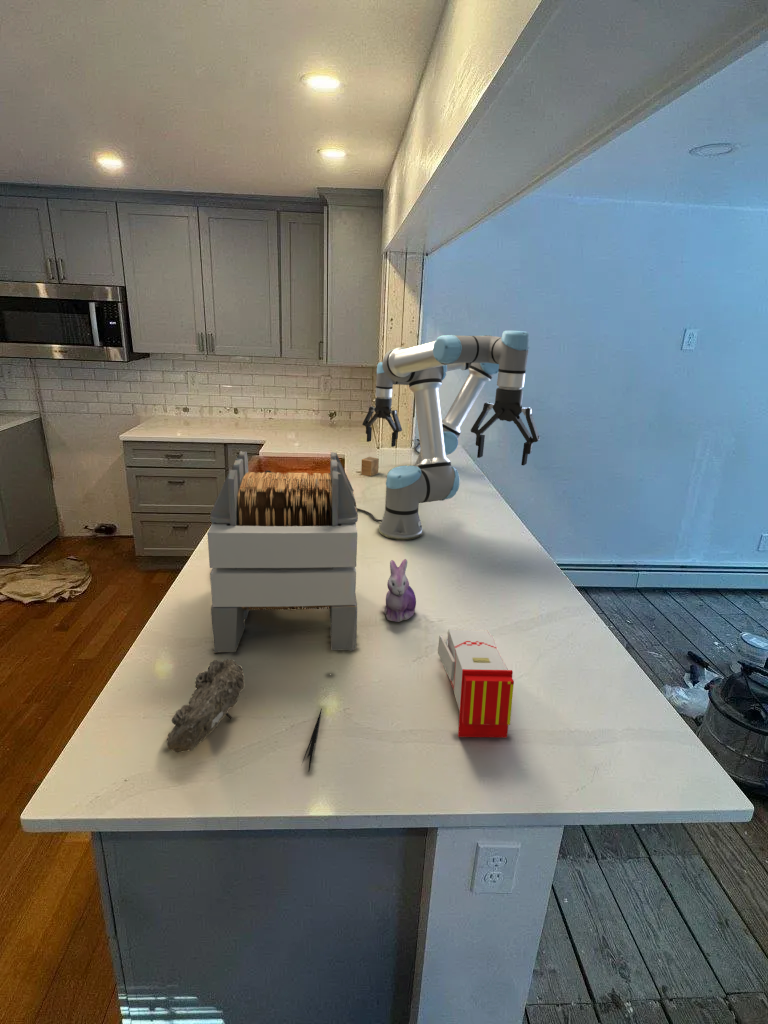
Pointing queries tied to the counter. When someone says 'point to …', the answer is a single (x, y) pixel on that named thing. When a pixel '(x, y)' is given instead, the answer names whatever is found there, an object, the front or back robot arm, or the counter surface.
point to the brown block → (369, 466)
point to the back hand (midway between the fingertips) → (381, 443)
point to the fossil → (206, 705)
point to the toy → (478, 682)
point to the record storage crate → (283, 549)
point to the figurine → (399, 594)
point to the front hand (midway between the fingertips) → (501, 460)
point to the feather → (313, 740)
